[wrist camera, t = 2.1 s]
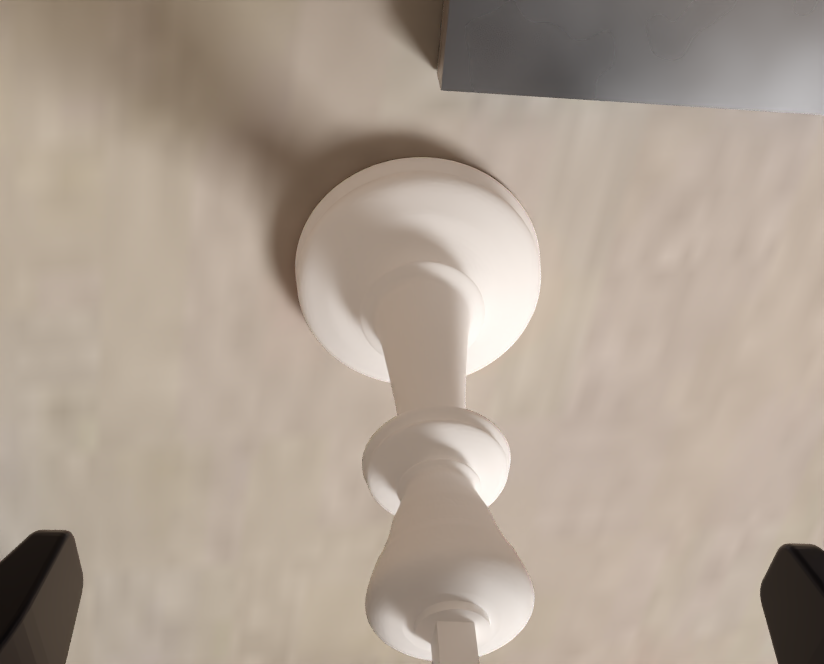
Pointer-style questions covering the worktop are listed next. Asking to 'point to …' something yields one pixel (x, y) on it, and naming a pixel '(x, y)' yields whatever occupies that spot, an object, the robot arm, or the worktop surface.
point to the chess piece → (429, 386)
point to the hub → (639, 51)
